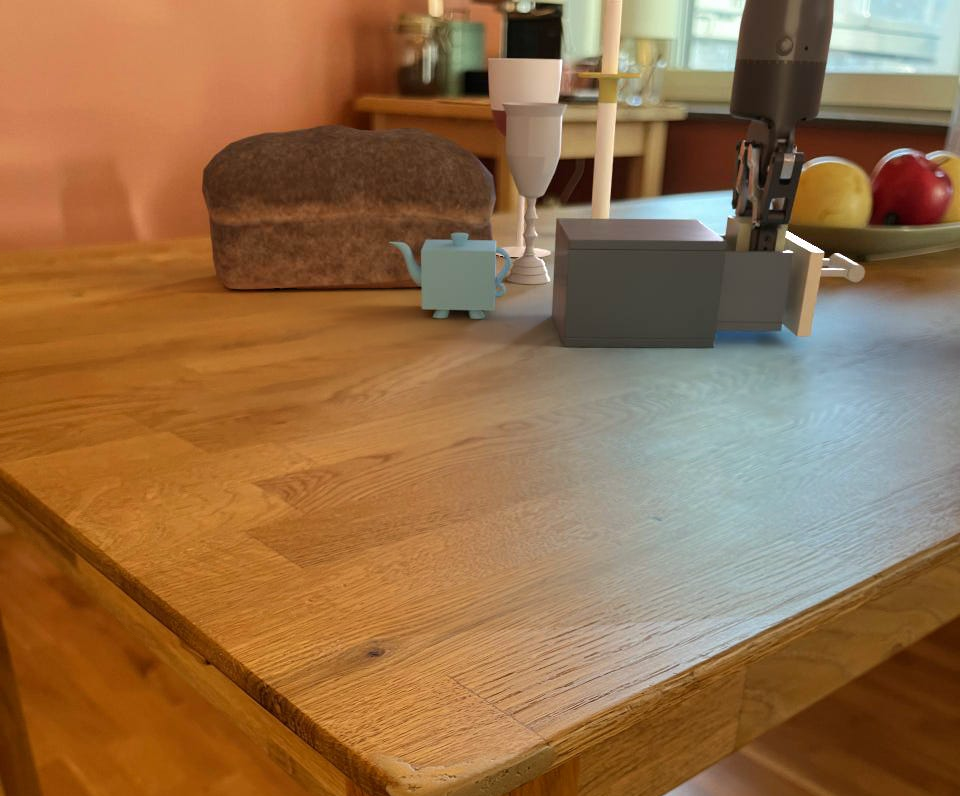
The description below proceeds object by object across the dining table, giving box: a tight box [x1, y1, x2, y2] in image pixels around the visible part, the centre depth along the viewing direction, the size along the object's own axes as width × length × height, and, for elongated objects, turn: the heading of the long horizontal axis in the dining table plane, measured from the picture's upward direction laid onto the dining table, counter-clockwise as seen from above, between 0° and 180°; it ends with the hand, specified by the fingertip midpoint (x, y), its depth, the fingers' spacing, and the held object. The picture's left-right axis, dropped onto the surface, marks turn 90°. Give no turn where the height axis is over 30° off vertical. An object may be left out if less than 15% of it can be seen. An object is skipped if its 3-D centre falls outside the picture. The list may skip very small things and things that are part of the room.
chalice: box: [502, 102, 568, 285], centre depth 113 cm, size 7×7×18 cm
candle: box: [576, 0, 642, 219], centre depth 135 cm, size 10×10×38 cm
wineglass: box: [487, 57, 563, 258], centre depth 127 cm, size 9×10×22 cm
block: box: [724, 215, 789, 251], centre depth 93 cm, size 4×4×4 cm
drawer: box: [716, 231, 866, 338], centre depth 95 cm, size 17×11×7 cm, turn 91°
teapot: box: [389, 233, 512, 320], centre depth 101 cm, size 12×6×8 cm, turn 89°
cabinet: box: [551, 217, 727, 349], centre depth 95 cm, size 14×13×9 cm
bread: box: [201, 124, 497, 290], centre depth 113 cm, size 15×32×16 cm, turn 98°
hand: (751, 266), depth 94 cm, fingers closed on block, 4 cm apart
